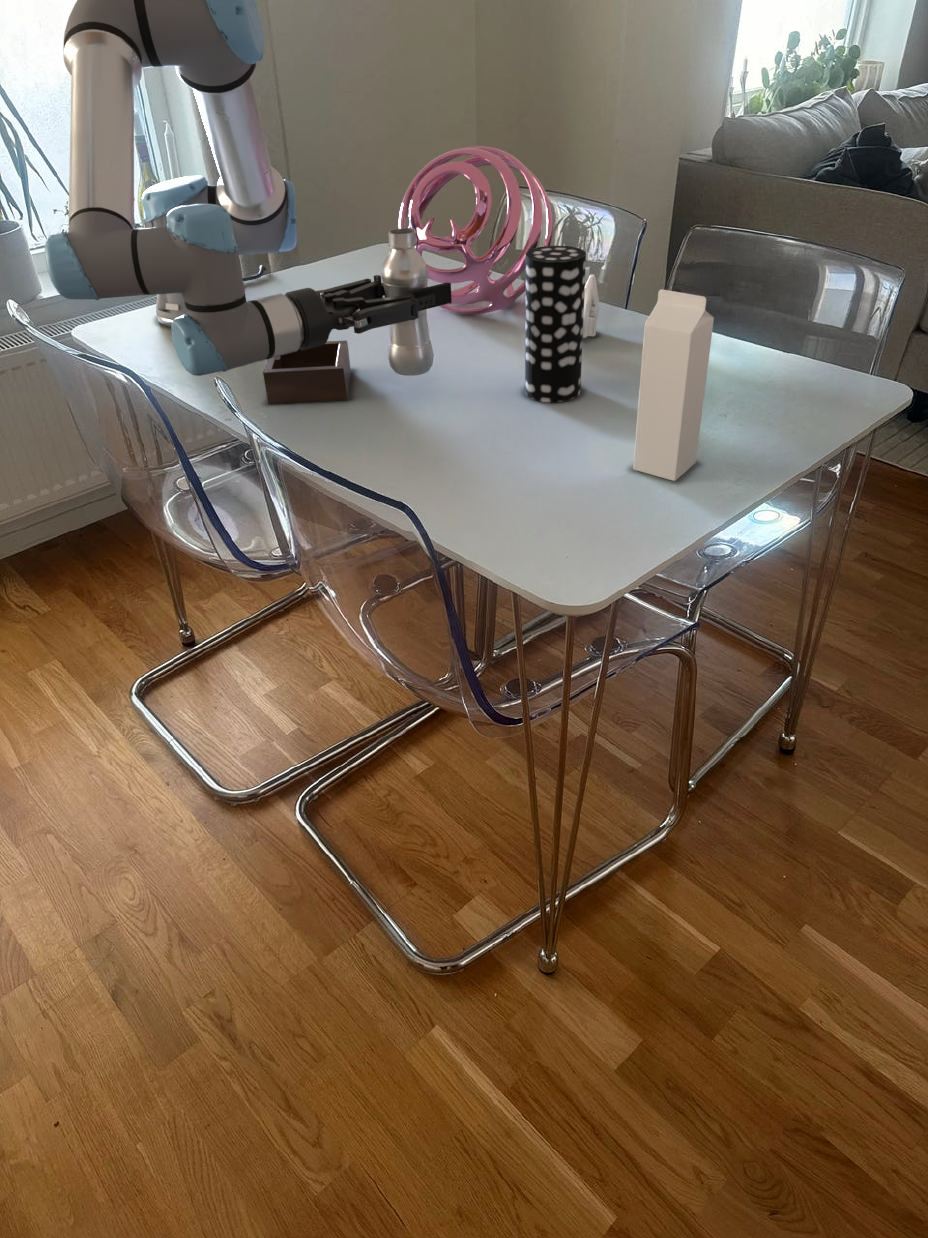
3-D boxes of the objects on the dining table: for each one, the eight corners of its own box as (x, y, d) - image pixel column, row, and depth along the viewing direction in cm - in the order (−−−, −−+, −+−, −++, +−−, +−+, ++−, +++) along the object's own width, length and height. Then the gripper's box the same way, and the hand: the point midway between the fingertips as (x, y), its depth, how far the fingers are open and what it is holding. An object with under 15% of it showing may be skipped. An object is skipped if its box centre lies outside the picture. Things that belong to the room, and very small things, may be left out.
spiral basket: (478, 165, 179) (417, 92, 154) (599, 217, 170) (555, 149, 145) (412, 299, 185) (344, 249, 160) (526, 356, 176) (472, 314, 151)
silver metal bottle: (428, 382, 133) (420, 237, 122) (384, 379, 135) (371, 236, 123) (438, 365, 139) (431, 225, 127) (395, 363, 140) (384, 224, 128)
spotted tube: (585, 383, 141) (592, 247, 129) (573, 405, 134) (578, 263, 122) (533, 378, 143) (534, 244, 131) (518, 399, 137) (518, 260, 125)
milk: (654, 452, 121) (670, 281, 108) (696, 463, 118) (718, 289, 105) (632, 470, 118) (645, 295, 104) (675, 482, 114) (695, 303, 101)
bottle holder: (276, 374, 148) (271, 344, 145) (350, 370, 148) (347, 340, 145) (268, 404, 138) (262, 372, 136) (347, 400, 139) (343, 368, 136)
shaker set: (556, 353, 151) (558, 284, 145) (538, 347, 154) (539, 279, 147) (604, 334, 158) (607, 267, 151) (585, 328, 160) (588, 263, 153)
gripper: (265, 331, 130) (403, 297, 141) (329, 370, 118) (475, 329, 128) (256, 277, 126) (399, 246, 136) (322, 311, 113) (474, 274, 123)
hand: (436, 286), depth 132 cm, fingers closed on silver metal bottle, 6 cm apart
